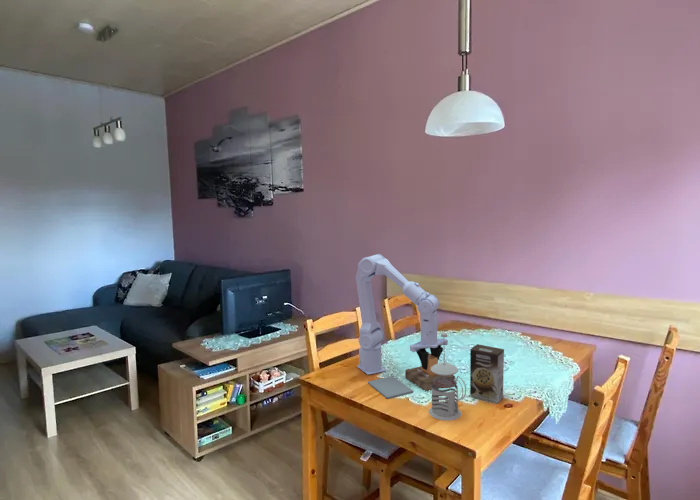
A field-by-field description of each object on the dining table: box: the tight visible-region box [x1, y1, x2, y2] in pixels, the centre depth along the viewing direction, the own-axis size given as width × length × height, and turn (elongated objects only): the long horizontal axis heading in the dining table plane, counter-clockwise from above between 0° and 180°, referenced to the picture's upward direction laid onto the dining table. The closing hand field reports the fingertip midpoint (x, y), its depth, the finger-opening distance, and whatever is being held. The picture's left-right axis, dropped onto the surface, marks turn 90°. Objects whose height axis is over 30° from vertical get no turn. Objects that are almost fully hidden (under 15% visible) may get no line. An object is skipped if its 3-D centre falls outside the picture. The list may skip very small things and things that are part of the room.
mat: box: [367, 375, 414, 400], centre depth 151 cm, size 14×10×1 cm
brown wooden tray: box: [404, 365, 456, 392], centre depth 156 cm, size 13×12×4 cm
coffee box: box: [469, 343, 505, 404], centre depth 141 cm, size 9×6×16 cm
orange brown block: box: [420, 353, 439, 377], centre depth 155 cm, size 5×4×9 cm
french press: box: [428, 331, 467, 422], centre depth 131 cm, size 10×12×25 cm
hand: (429, 367), depth 155 cm, fingers closed on orange brown block, 3 cm apart
